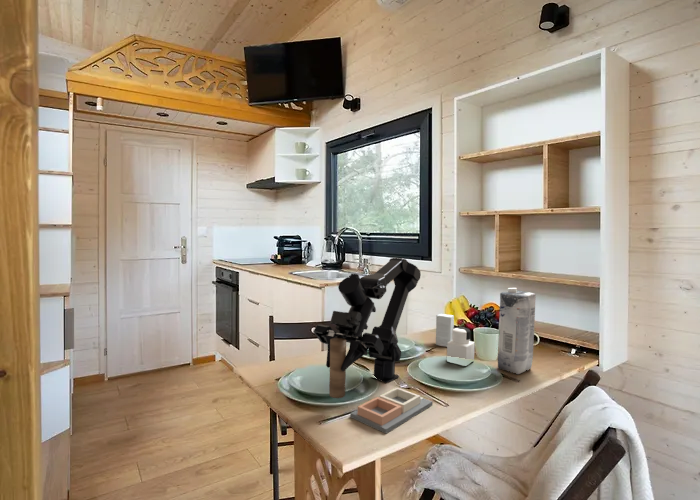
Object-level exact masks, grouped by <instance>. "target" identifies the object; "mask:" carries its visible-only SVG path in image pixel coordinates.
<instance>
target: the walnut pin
mask: <svg viewBox="0 0 700 500" xmlns="http://www.w3.org/2000/svg"><path fill="white" fill-rule="evenodd" d="M346 355H347V342H346V339H344V338H332V339H330V367H329V389H328V390H329V391H328V393H329V397H330V398H333V399H341V398H344V397H345V396H346V377H347V376H346V371H347V369H346V370H345V371H342V370H341V367H342V364H343V361H344V359H345V357H346Z"/></svg>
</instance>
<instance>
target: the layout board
mask: <svg viewBox="0 0 700 500" xmlns="http://www.w3.org/2000/svg"><path fill="white" fill-rule="evenodd" d="M433 403H434V402H433V400H429V399H426V398H424V397H423V396H422V397H421V395H419V394H416V393H414V392H412V391H411V392H410V391H408V390H406V389H403V388H400V387H397V386H396V387H394V388H392V389H391V390H388V391H386V392H384V393H383V394H380V395H379V397H378V396H376V397H374V398H372V399H370V400H368V401H366V402H364V403H362V404H360V405H358V406H357V409H355V410H354V411H352V412H350V418H352V419H353V420H355V421H358V422H359V423H362V424H364V425H367V426H369V427H371V428H373V429H375V430H378V431H380V432H382V433H384V434H388V433H389V432H391V431H392V430H394V429H396V428H398V427H400V426H401V425H402V424H404V423H406V422H408V421H410V420H411V419H412V418H414V417H416V416H417V415H419V414H421V413H422V412H424V411H426V410H427V409H429V408H430V407H432V406H433Z"/></svg>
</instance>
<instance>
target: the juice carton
mask: <svg viewBox="0 0 700 500" xmlns="http://www.w3.org/2000/svg"><path fill="white" fill-rule="evenodd" d="M517 289H518V288H517V287H508V288H507V291H505V292H504V291H503V292H500V293H499V297H500V298H499V315H498V316H499V317H498V318H499V320H498V321H499V322H498V341H497V368H498V369H499V368H500V370H502V369H503V371H505V370H507V371H506V372H509V371H510V372H509V373H512V372H513V373H512V374H514V373H516V374H515V375H520V374H522V373H524V372H527V371H529V369H530V370H531V369H532V367H533V366H532V364H533V361H534V360H533V359H534V357H533V356H534V341H535V340H534V339H535V338H534V337H535V317H536V297H537V296H536V295H537V294H536V293H534V292H529V291H522V290H521V291H520V290H517ZM526 370H527V371H526Z"/></svg>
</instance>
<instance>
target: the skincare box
mask: <svg viewBox="0 0 700 500" xmlns="http://www.w3.org/2000/svg"><path fill="white" fill-rule="evenodd" d="M435 317H436V318H435V319H436V321H435V322H436V324H435V346H441V347H446V348H447V343H448V342H449V341H451V340H452V329H453V328H455V315H454V314H453V315H452V314H445V313H438V314H437V315H435Z"/></svg>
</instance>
